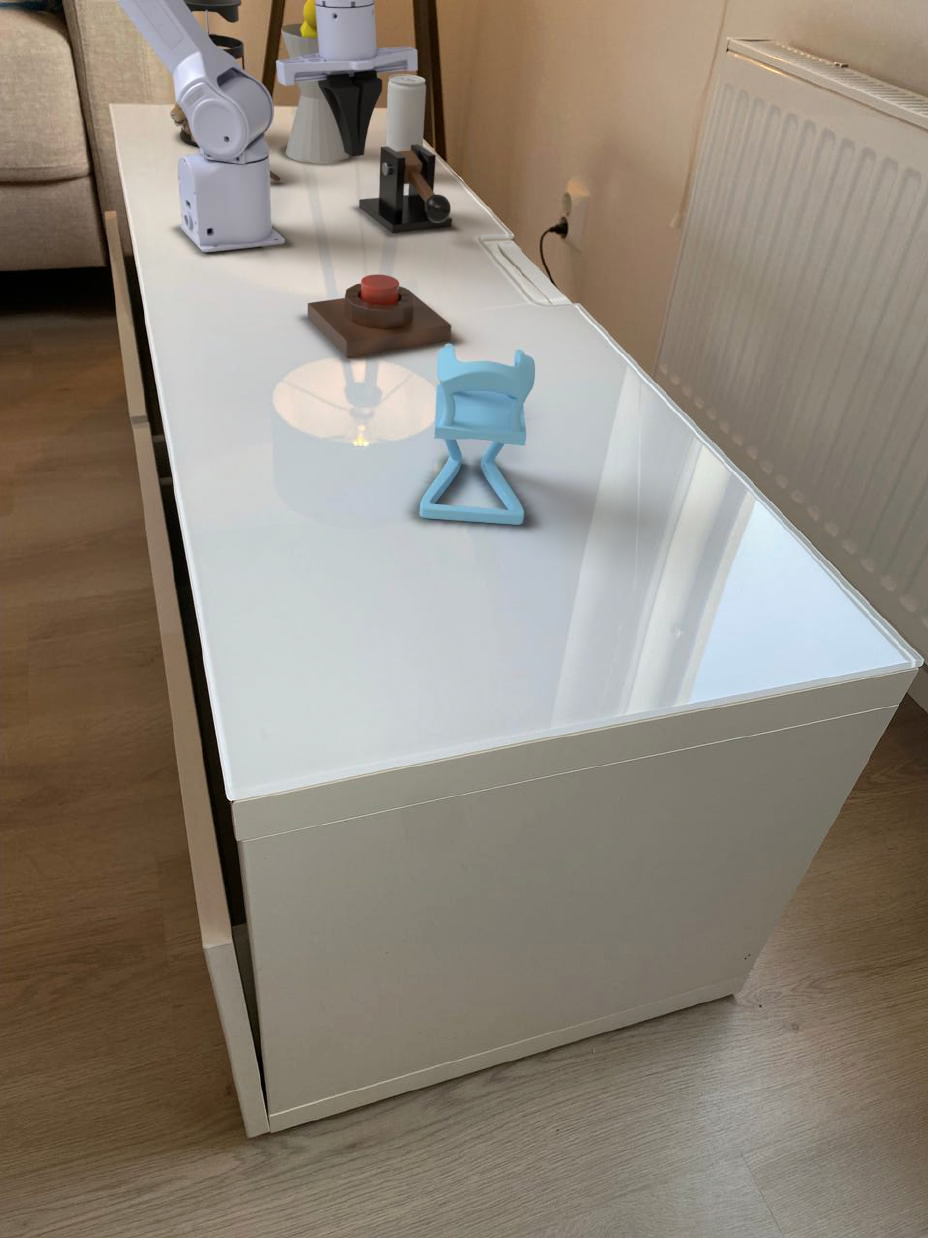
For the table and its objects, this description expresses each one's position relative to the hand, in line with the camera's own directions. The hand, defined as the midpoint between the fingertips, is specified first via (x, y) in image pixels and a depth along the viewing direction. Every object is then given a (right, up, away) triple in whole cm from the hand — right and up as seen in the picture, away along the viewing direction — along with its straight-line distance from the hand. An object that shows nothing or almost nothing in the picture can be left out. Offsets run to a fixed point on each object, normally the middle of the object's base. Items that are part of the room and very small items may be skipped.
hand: (354, 153), depth 105 cm
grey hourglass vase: (-9, +15, +33) cm, 37 cm away
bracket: (+4, 0, +17) cm, 17 cm away
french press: (-23, +18, +35) cm, 45 cm away
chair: (+12, -39, -28) cm, 50 cm away
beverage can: (+3, +10, +28) cm, 30 cm away
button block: (+3, -21, -8) cm, 22 cm away
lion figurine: (-19, +8, +23) cm, 31 cm away
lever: (+6, 0, +12) cm, 14 cm away
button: (+3, -18, -10) cm, 21 cm away
